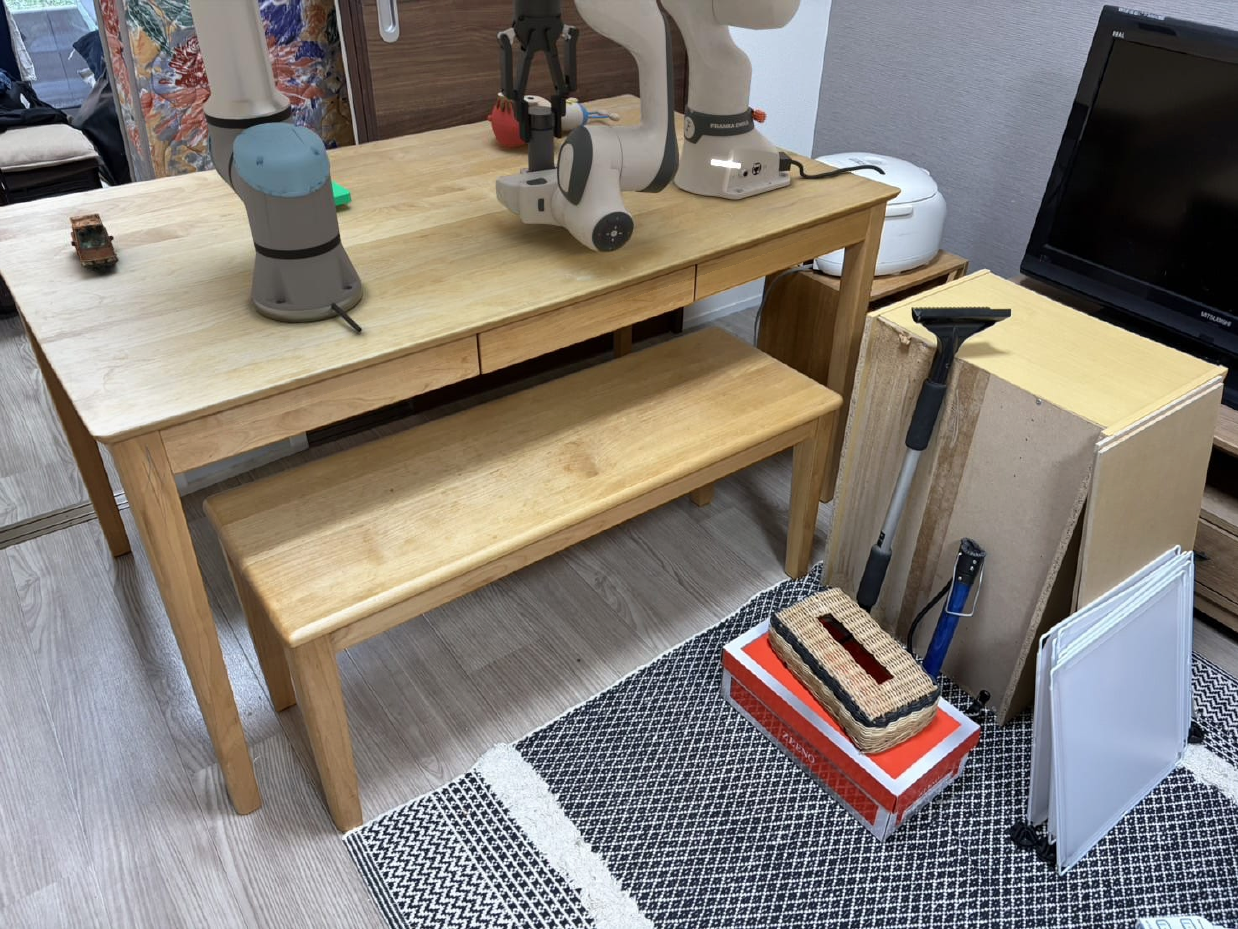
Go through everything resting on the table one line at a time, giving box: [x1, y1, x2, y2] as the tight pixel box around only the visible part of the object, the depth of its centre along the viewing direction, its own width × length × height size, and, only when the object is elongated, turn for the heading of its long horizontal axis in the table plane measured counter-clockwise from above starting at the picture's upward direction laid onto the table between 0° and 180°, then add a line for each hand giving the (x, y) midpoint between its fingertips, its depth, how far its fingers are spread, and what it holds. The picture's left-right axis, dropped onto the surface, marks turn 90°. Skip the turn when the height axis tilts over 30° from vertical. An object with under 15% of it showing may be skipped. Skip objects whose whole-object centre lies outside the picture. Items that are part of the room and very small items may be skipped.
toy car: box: [69, 213, 120, 274], centre depth 141 cm, size 6×12×7 cm, turn 39°
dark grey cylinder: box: [527, 127, 555, 172], centre depth 159 cm, size 4×4×16 cm
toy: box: [487, 92, 621, 148], centre depth 195 cm, size 18×10×30 cm
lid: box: [529, 106, 556, 129], centre depth 155 cm, size 5×5×2 cm
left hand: (540, 138), depth 157 cm, fingers closed on lid, 5 cm apart
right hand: (539, 170), depth 161 cm, fingers closed on dark grey cylinder, 4 cm apart
